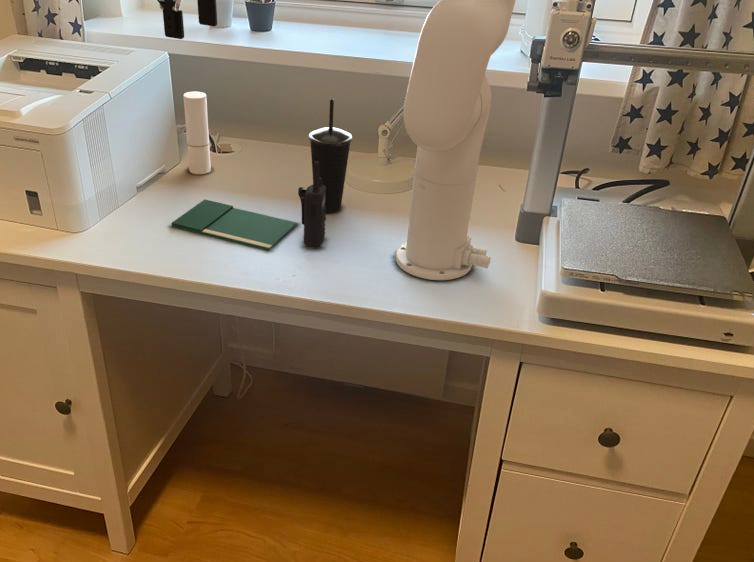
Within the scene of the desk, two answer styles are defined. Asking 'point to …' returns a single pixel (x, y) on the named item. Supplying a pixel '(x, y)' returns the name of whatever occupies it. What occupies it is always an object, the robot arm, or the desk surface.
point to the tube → (197, 132)
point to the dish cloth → (234, 225)
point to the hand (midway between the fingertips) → (191, 31)
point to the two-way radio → (313, 210)
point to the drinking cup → (331, 160)
